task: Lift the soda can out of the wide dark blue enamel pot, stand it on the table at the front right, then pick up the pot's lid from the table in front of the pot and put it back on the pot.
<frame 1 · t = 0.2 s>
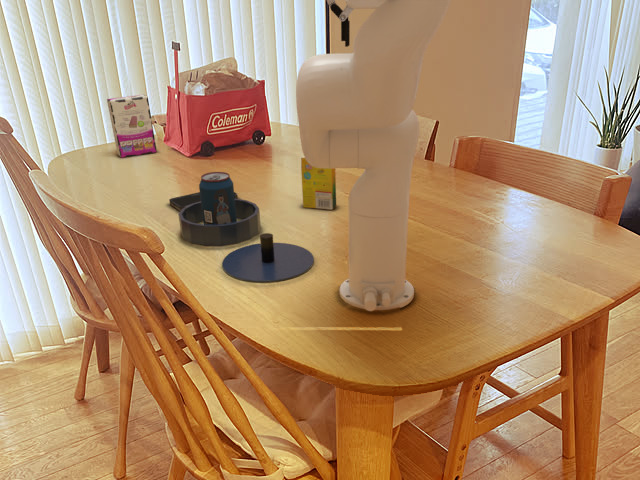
hand: (374, 45, 110), 37 cm above the table, tool pointing down, fingers open, 9 cm apart
pot: (221, 233, 133), on the table
phone: (204, 201, 151), on the table
soda can: (221, 232, 133), resting on pot
crayon box: (319, 207, 146), on the table
candy bar box: (137, 154, 191), on the table
lid: (268, 262, 118), point 1 cm above the table
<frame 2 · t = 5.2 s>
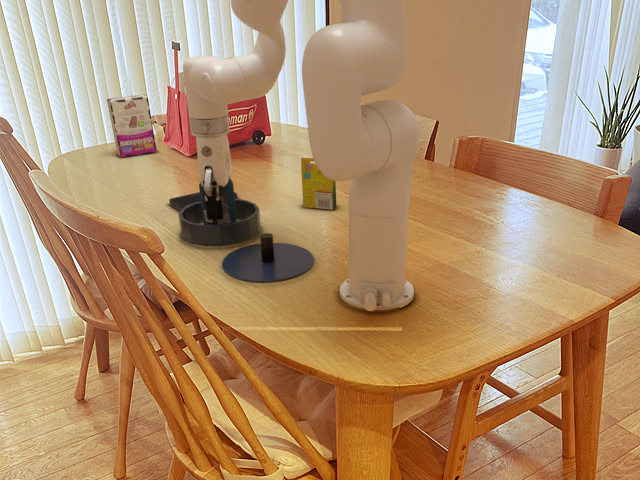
hand: (219, 211, 131), 5 cm above the table, tool pointing down, fingers closed on soda can, 7 cm apart
soda can: (221, 232, 133), resting on pot, touching gripper
everything else where it was.
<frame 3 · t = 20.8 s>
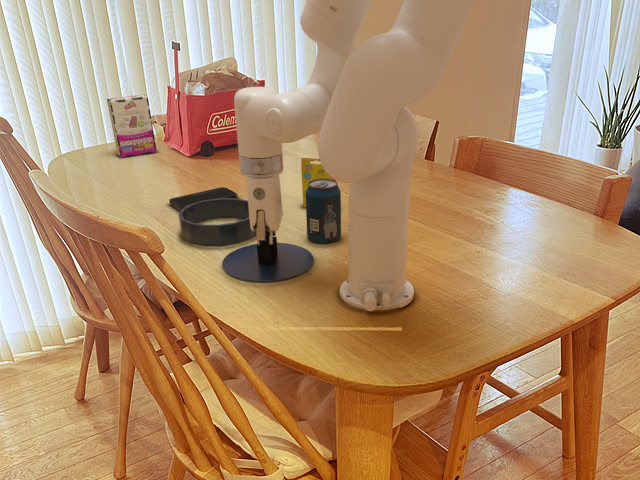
hand: (268, 259, 118), 1 cm above the table, tool pointing down, fingers closed on lid, 2 cm apart
soda can: (324, 241, 129), on the table
lid: (268, 262, 118), point 1 cm above the table, touching gripper
everything else where it was.
when the fingers open (5 cm above the table, at t = 27.3 s): lid stays where it is, resting on pot.
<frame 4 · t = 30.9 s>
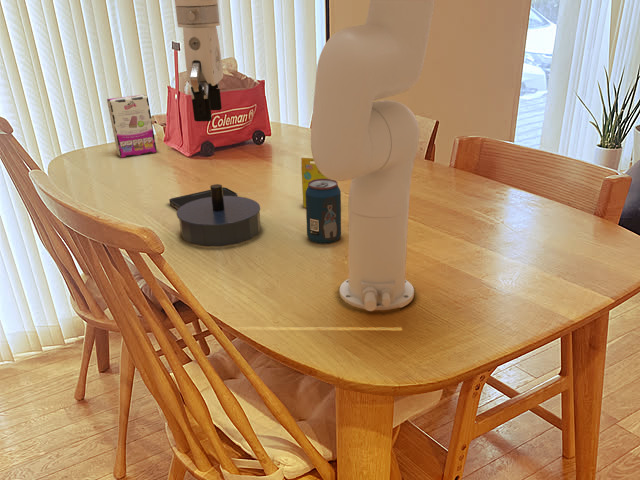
hand: (208, 115, 121), 24 cm above the table, tool pointing down, fingers open, 9 cm apart
lid: (218, 211, 131), point 5 cm above the table, touching pot
everything else where it was.
at the end: soda can inside the target area (0.1 cm from its centre), on the table; soda can tilted 0°; lid 0.0 cm off-centre on the pot, point 4.9 cm above the pot's base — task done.
